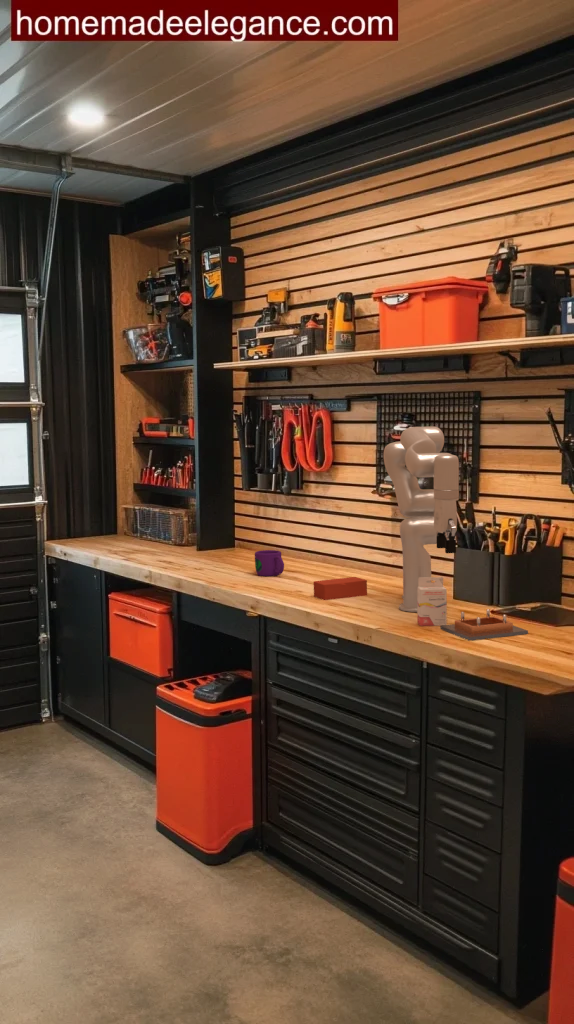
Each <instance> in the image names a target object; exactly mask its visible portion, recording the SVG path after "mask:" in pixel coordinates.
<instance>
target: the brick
mask: <svg viewBox="0 0 574 1024" xmlns="http://www.w3.org/2000/svg"><path fill="white" fill-rule="evenodd" d="M364 596H365V597H366V596H368V580H367V579H363V578H360V577H356V576H351V577H349V576H348V577H342V578H332V579H322V580H315V581H313V597H314V598H318V599H321V600H322V599H323V601H330V600H337V599H347V598H348V599H349V598H355V597H356V598H358V597H364Z"/></svg>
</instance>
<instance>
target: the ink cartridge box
mask: <svg viewBox="0 0 574 1024" xmlns="http://www.w3.org/2000/svg"><path fill="white" fill-rule="evenodd" d="M430 580H431V583H427V582H426V581H430ZM432 581H434V582H432ZM447 591H448V590H447V588H446V587H445V586H444V577H443V576H431V577H423V578H421V577H420V578H418V598H417V600H418V612H416V613H417V618H416V619H417V623H418V625H419V626H420V627H426V626H427V627H428V626H439V627H440V626H443V625H448V624H447V620H448V619H447V615H448V612H447V611H448V608H447V607H448V605H447V602H448V601H447V594H448V592H447Z"/></svg>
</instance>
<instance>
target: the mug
mask: <svg viewBox="0 0 574 1024" xmlns="http://www.w3.org/2000/svg"><path fill="white" fill-rule="evenodd" d="M254 566H255V573H256V575H258V576H259V577H277V576H279V575H281V574H283V572H284V571H285V570H284V569H285V563H284V560H283V558H282V551H280V550H277V549H276V550H275V549H268V550H266V549H264V550H259V551H255V552H254Z"/></svg>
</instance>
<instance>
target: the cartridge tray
mask: <svg viewBox="0 0 574 1024" xmlns="http://www.w3.org/2000/svg"><path fill="white" fill-rule="evenodd" d="M513 623H514V622H512V621H509V620H507V614H502V618H500V617H497V616H491V609H490V608H487V609H486V616H485V617H479V616H478V617H475V618H468V619H467V618H466V619H465V611H461V612H460V619H457V620H454V624H453V623H452V624H447V625H440V626H439V628H440V630H442V631H444V632H447V633H450V634H452V635H454V634H455V635H454V636H457V637H459V636H460V637H459V638H462V639H464V638H465V639H464V640H466V639H468V640H467V641H469V640H472V641H477V640H476V639H480V640H487V639H488V638H489V639H495V638H496V639H497V638H504V637H505V638H506V637H512V636H513V637H514V636H520V635H521V636H523V635H528V634H529V630H527V629H525V628H522V627H519V626H516V625H513ZM485 638H487V639H485ZM489 639H488V640H489Z"/></svg>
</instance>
